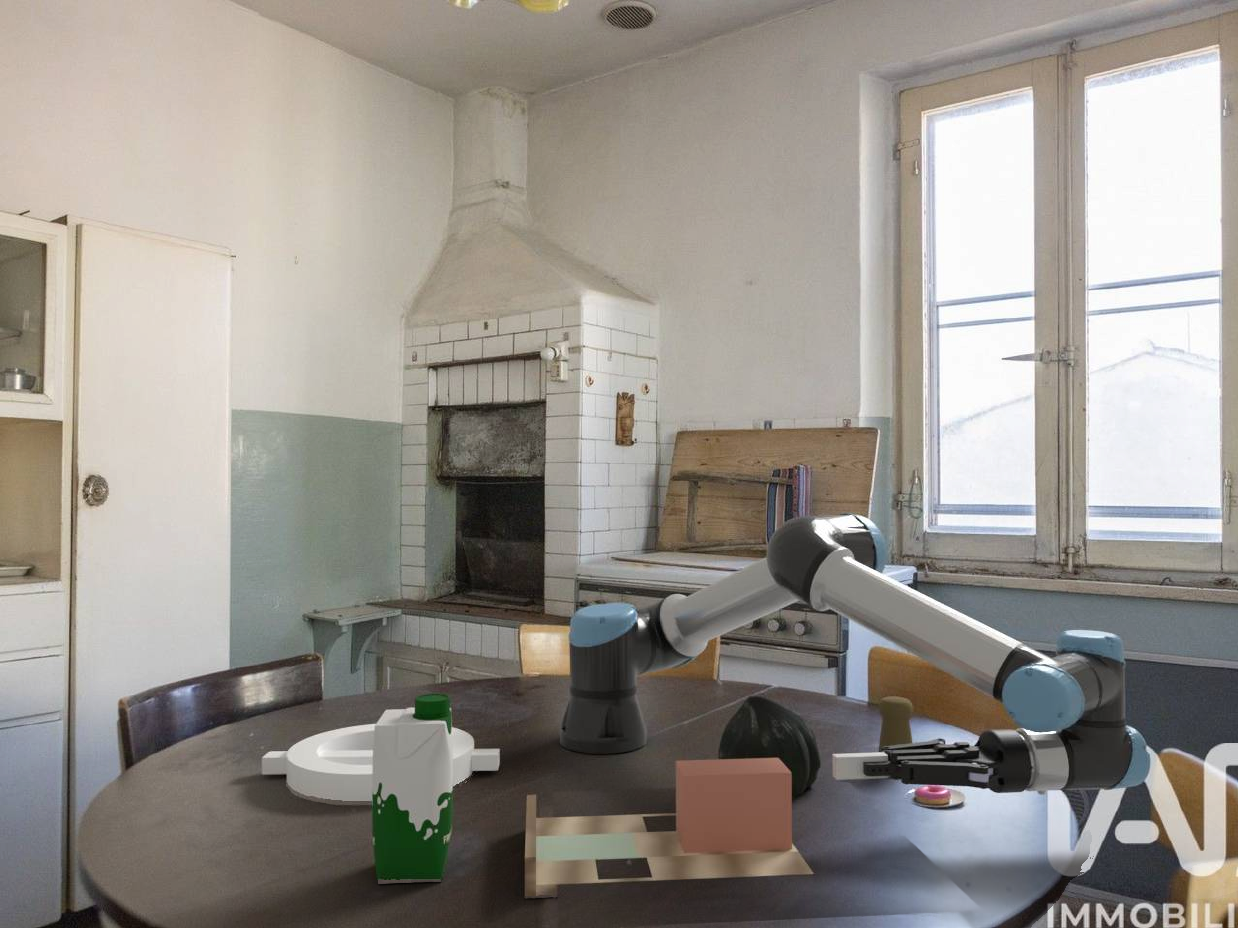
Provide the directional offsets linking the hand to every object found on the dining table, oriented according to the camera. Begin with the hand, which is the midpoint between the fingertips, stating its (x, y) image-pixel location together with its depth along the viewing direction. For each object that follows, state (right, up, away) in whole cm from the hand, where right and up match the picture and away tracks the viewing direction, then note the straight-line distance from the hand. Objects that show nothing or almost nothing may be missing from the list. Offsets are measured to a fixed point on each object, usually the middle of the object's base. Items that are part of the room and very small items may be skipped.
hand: (834, 766), depth 113 cm
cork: (+17, -11, +32) cm, 39 cm away
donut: (+20, -11, +18) cm, 29 cm away
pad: (-30, -10, -3) cm, 32 cm away
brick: (-13, -9, -1) cm, 15 cm away
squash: (-5, -11, +21) cm, 24 cm away
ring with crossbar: (-63, -12, +30) cm, 71 cm away
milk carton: (-50, -10, -6) cm, 52 cm away
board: (-22, -10, -2) cm, 24 cm away
